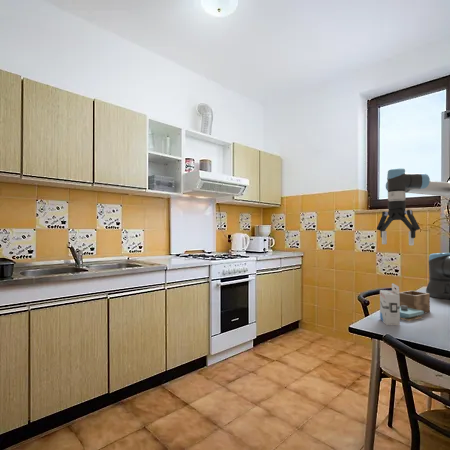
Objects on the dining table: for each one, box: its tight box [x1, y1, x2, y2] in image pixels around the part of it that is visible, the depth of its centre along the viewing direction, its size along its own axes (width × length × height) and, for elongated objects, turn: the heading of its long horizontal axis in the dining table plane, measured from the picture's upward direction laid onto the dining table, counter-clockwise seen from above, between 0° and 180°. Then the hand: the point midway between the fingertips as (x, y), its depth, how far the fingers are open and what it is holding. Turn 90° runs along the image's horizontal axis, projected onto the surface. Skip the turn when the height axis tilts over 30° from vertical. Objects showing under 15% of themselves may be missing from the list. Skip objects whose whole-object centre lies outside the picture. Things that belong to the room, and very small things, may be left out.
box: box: [399, 290, 431, 314], centre depth 136 cm, size 10×8×8 cm
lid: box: [400, 305, 425, 318], centre depth 128 cm, size 10×10×4 cm
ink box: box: [379, 283, 401, 327], centre depth 121 cm, size 9×5×15 cm, turn 168°
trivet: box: [400, 315, 423, 322], centre depth 128 cm, size 9×9×1 cm
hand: (397, 244), depth 149 cm, fingers open, 13 cm apart
